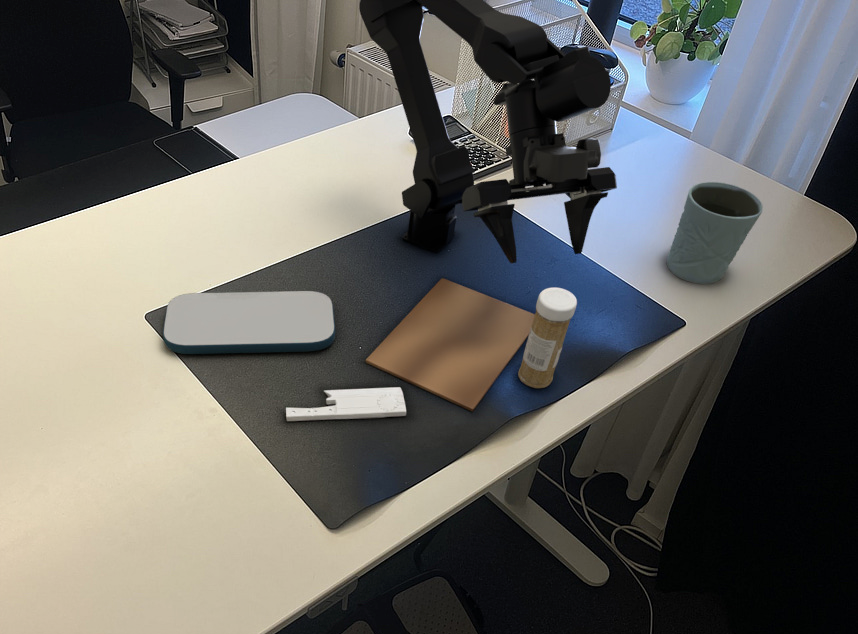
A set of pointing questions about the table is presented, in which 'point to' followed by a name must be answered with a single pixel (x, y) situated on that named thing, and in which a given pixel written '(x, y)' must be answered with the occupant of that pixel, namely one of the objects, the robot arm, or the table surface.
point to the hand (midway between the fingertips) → (546, 258)
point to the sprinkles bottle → (546, 336)
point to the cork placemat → (454, 343)
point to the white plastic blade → (354, 405)
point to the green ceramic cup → (712, 231)
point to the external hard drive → (249, 322)
